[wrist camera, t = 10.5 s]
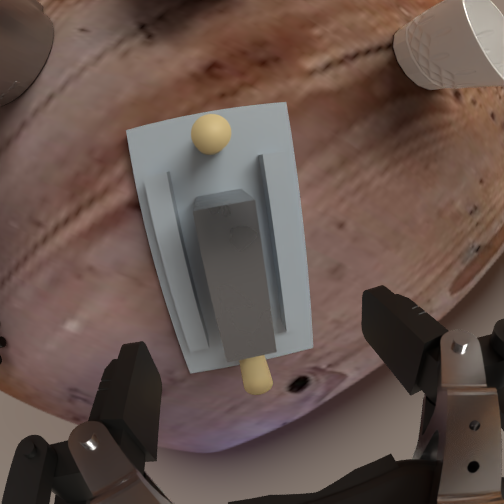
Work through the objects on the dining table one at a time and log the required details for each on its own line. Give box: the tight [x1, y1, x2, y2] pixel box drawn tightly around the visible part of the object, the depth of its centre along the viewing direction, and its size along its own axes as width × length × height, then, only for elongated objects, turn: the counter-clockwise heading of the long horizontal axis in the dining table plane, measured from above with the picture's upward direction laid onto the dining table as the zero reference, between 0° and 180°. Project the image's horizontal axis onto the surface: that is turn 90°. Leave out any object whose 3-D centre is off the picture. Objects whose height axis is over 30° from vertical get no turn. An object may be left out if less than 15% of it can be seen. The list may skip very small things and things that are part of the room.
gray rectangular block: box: [193, 189, 277, 362], centre depth 18 cm, size 9×3×6 cm, turn 9°
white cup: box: [393, 0, 504, 90], centre depth 14 cm, size 8×8×10 cm
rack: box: [126, 102, 313, 395], centre depth 19 cm, size 20×11×6 cm, turn 9°
